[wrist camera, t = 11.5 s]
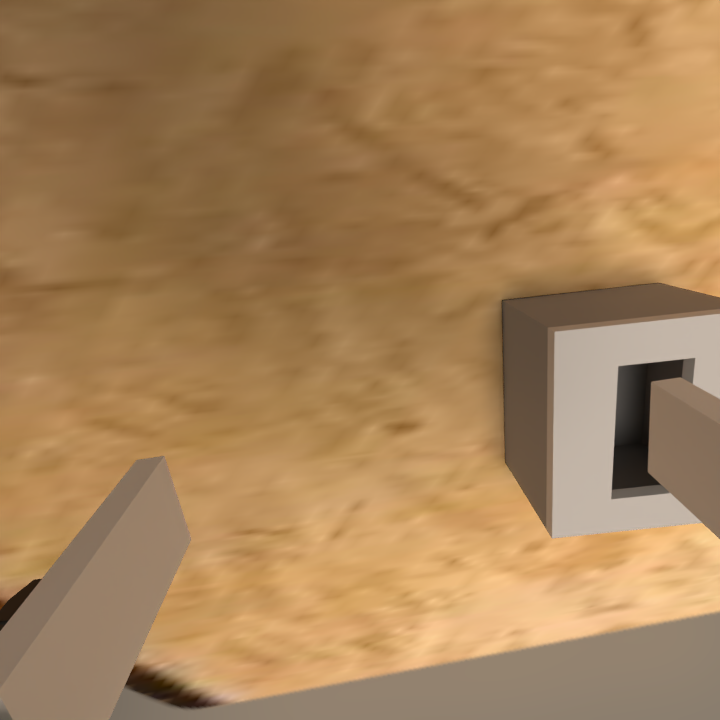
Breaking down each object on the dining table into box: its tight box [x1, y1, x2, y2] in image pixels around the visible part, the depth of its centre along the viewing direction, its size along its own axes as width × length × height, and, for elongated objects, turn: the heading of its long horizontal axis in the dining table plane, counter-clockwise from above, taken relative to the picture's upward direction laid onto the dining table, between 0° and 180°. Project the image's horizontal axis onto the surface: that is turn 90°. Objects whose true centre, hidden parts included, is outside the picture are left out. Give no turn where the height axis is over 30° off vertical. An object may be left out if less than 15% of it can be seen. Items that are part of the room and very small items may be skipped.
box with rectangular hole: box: [502, 283, 720, 538], centre depth 35 cm, size 14×12×10 cm
